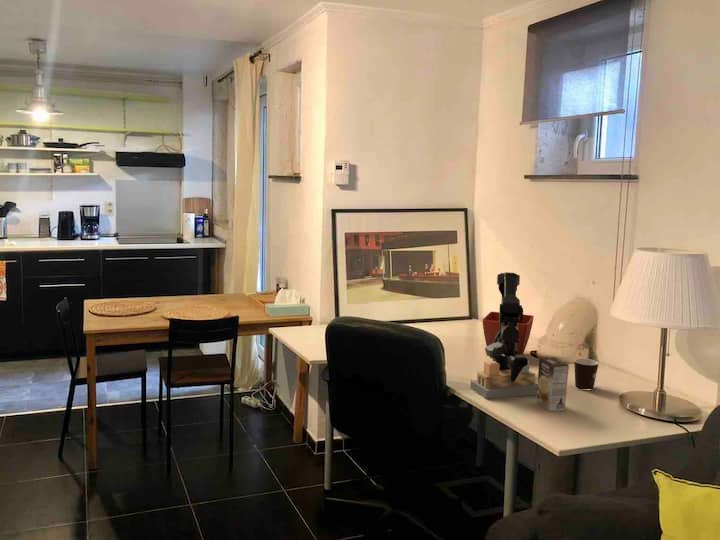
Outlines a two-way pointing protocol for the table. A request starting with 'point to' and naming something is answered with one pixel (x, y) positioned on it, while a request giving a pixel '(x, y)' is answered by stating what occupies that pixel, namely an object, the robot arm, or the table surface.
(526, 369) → the grey cube
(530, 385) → the dock
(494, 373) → the orange cube
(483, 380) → the wooden block
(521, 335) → the plant pot
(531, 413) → the table surface
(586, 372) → the coffee mug
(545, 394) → the coffee box
